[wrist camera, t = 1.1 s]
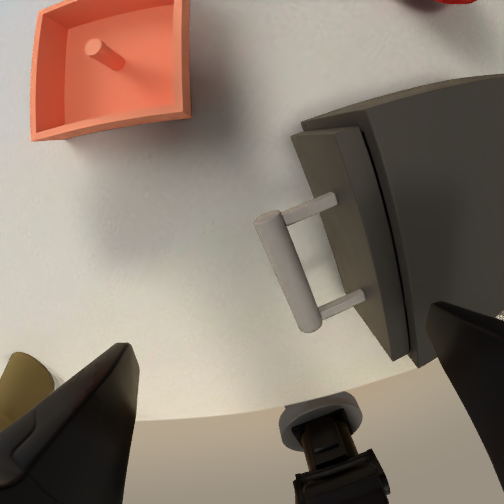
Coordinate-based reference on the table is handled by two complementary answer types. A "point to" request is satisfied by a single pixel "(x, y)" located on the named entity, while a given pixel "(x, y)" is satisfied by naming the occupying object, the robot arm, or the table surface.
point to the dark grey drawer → (342, 237)
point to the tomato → (455, 1)
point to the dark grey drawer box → (439, 192)
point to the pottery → (109, 66)
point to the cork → (22, 387)
